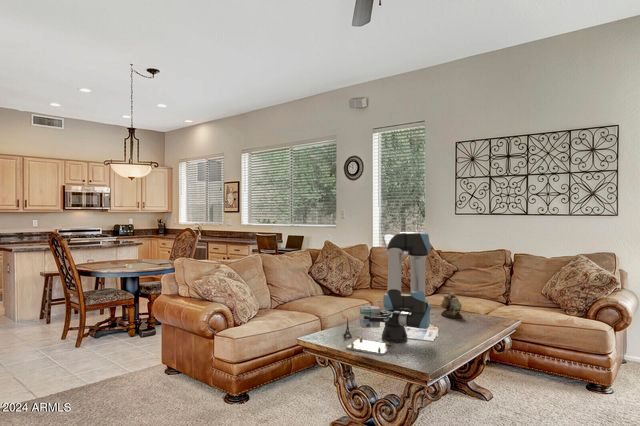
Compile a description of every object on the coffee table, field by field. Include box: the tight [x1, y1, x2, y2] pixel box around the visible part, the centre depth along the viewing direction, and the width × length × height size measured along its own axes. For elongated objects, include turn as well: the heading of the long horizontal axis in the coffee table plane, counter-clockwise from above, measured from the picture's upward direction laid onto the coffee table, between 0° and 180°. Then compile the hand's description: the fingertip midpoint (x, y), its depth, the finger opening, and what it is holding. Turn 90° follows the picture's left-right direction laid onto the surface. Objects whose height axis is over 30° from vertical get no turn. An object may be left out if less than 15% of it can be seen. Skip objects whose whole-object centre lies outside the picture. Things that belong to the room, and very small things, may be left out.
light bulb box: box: [359, 305, 381, 329], centre depth 245 cm, size 11×7×11 cm, turn 96°
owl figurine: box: [440, 292, 464, 320], centre depth 315 cm, size 18×12×17 cm, turn 34°
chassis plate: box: [345, 336, 394, 356], centre depth 246 cm, size 16×22×3 cm
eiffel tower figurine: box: [335, 317, 361, 339], centre depth 267 cm, size 15×10×13 cm
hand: (363, 313), depth 247 cm, fingers closed on light bulb box, 11 cm apart
